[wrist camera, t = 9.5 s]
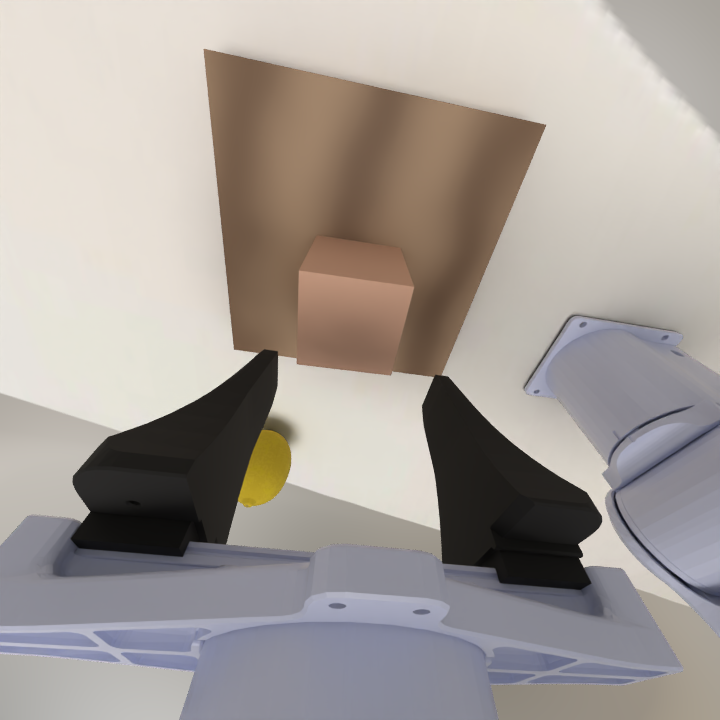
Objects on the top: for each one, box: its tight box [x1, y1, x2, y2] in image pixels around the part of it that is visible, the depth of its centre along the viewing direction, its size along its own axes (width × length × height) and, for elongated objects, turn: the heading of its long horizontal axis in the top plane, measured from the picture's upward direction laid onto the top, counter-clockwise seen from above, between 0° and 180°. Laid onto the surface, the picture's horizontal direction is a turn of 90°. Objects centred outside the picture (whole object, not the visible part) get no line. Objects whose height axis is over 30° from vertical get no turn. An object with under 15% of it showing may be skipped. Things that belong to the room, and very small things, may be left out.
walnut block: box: [204, 49, 546, 377], centre depth 19 cm, size 16×16×2 cm
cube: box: [297, 235, 414, 375], centre depth 17 cm, size 5×5×6 cm
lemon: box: [238, 430, 291, 507], centre depth 28 cm, size 6×6×8 cm
